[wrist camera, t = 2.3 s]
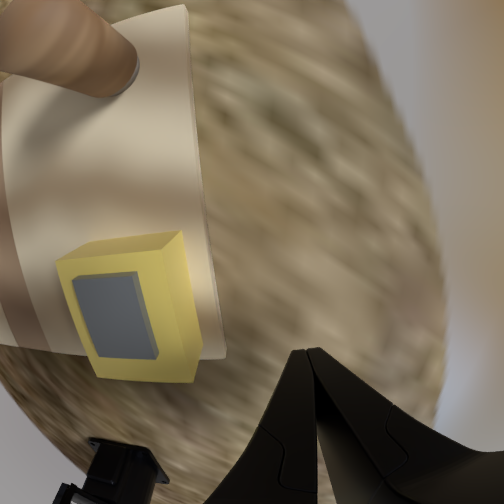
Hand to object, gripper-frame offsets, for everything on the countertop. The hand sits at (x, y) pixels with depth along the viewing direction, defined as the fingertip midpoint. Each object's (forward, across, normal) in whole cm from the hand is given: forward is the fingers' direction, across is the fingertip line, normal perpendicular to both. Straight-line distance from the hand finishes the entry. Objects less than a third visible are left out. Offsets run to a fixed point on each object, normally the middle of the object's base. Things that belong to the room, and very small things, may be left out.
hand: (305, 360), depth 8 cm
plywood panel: (+6, +13, -5) cm, 15 cm away
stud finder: (+6, +7, 0) cm, 9 cm away
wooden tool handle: (+5, +7, -11) cm, 14 cm away
